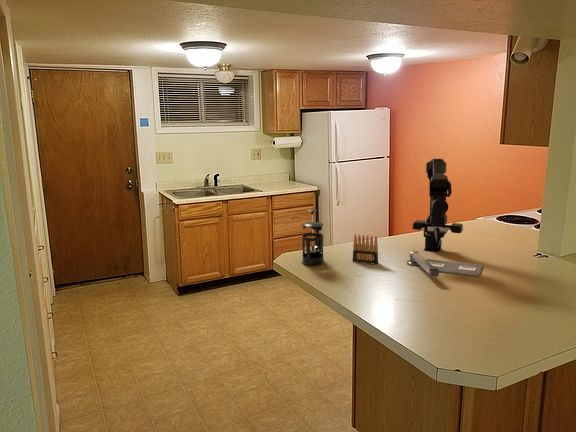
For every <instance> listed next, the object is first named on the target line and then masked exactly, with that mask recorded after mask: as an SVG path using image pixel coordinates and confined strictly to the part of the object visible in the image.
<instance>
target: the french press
mask: <svg viewBox="0 0 576 432" xmlns="http://www.w3.org/2000/svg"><path fill="white" fill-rule="evenodd" d="M307 212H308V213H310V214H311V221H308V222H303V223H301V226H302V230H305V229H307V228H310V229H311V232H310V233H309V232H307V233H303V234H302V235H301V239H302V256H301V257H302V261H301V264H303V265H304V266H307V265H308V267H318V266H317V265H319V266H321V264H322V265H324V264H325V260H324V257H325V256H324V234H322V233H321V232H319V231H323V226H324V223H323V222H319V221H314V212H315V213H316V212H318V210H317V209H313V208H312V209H307ZM314 231H315V232H314ZM311 243H312V245H311ZM323 263H324V264H323Z"/></svg>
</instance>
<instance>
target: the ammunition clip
mask: <svg viewBox="0 0 576 432" xmlns="http://www.w3.org/2000/svg"><path fill="white" fill-rule="evenodd" d="M353 236H354V237H353V244H352V247H353V248H352V249H353V250H352V262H353V261H358V262H357V263H362V262H366V263H365V264H371V263H374V264H373V265H378V264H379V250H378V247H379V246H378V237H377V235H375V236H374V237H373V235H370V239H369V235H368V234H367V235H366V237H365V234H362V236H361V235H360V234H358V237H357V234H356V233H355V234H354V235H353Z"/></svg>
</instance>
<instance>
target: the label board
mask: <svg viewBox="0 0 576 432" xmlns="http://www.w3.org/2000/svg"><path fill="white" fill-rule="evenodd" d="M426 260H427V261H428V262H429V263H430V264H431V265H432V266H434V267H435V268H436V269H438V270H439V273H442V274H443V273H446V274H453V275H460V276H467V277H468V276H469V277H475V278H476V277H477V278H479V277H480V275H481V272H482V270H483V269H482V268H483V264H476V263H468V262H467V263H466V262H458V261H451V260H450V261H448V260H441V259H431V258H426ZM419 270H420V271H426V270H425V269H424V268H422V267H421V266H420V267H419Z"/></svg>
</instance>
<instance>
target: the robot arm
mask: <svg viewBox="0 0 576 432" xmlns="http://www.w3.org/2000/svg"><path fill="white" fill-rule="evenodd" d="M446 172H447V162H446V161H444V159H443V158H432V159H431V160H429V161H427V162H426V163H425V174H426V177H427V179H428V180H429V182H428V192H429V194H428V196H429V213H428V214H429V215H428V216H427V218H426V219H425V220H420V219H418V220H417V219H416V220H415V221H414V222H413V223H412V230H417V231H421V230H422V229H423V235H422V236H423V238H424V239H425V242H424V248H423V250H424V251H427V252H428V251H430V252H437V253H438V252H439V251H441V249H442V245H443V244H442V242H443V241H442V239H444V238H445V235H446V234H447V233H448V232H449V231H451V233H453V234H462V233H463V231H464V224H462V223H456V222H452V223H451V224H447V223H448V215H447V212H448V211H449V203H448V202H447V198H450V197H451V195H452V193H453V192H452V183H451V181H450V180H449V178H448V175H446Z"/></svg>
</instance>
